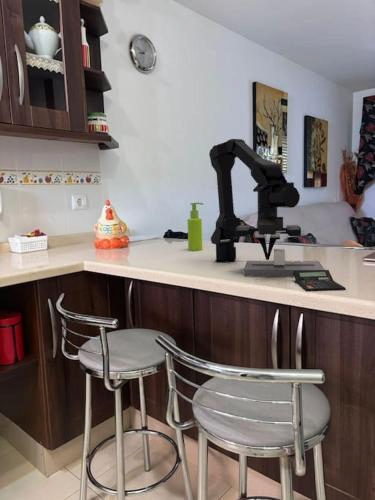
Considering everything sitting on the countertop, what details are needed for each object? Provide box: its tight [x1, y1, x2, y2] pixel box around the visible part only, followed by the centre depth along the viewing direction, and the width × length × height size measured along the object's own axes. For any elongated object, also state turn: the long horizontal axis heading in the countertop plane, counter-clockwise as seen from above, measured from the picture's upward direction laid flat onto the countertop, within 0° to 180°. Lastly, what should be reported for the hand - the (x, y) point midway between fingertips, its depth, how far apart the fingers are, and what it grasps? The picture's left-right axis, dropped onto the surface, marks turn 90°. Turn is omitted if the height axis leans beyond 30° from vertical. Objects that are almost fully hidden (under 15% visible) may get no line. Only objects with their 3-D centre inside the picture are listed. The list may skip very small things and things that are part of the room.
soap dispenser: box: [187, 202, 204, 252], centre depth 161 cm, size 6×7×20 cm
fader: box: [273, 248, 286, 265], centre depth 113 cm, size 3×6×4 cm, turn 168°
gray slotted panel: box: [243, 260, 326, 278], centre depth 114 cm, size 22×14×2 cm, turn 78°
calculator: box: [293, 269, 347, 292], centre depth 97 cm, size 9×12×3 cm
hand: (267, 259), depth 114 cm, fingers closed
